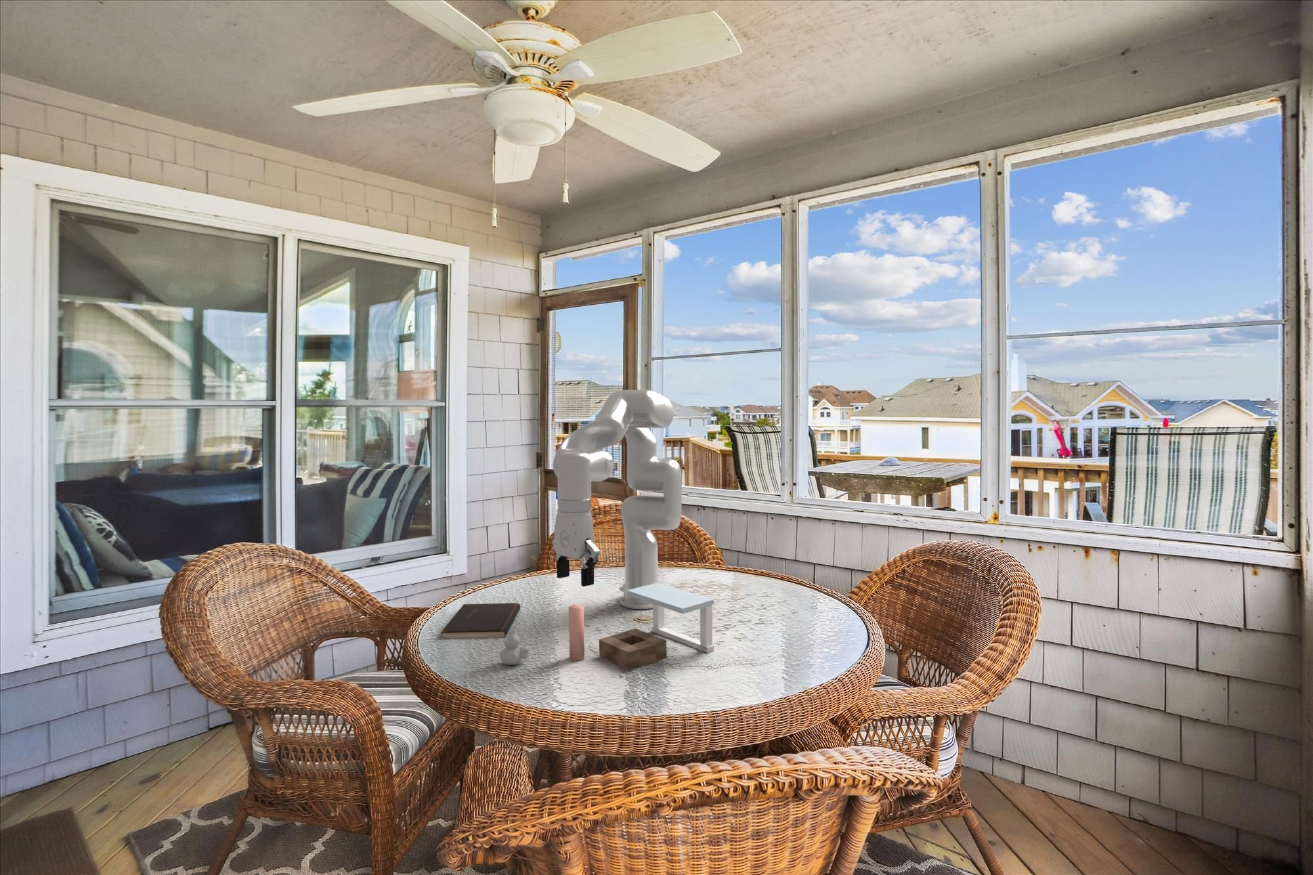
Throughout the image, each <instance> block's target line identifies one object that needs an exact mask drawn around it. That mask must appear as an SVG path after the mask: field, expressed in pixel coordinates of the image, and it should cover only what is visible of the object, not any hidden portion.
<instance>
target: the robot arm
mask: <svg viewBox="0 0 1313 875" xmlns="http://www.w3.org/2000/svg"><path fill="white" fill-rule="evenodd" d="M673 407H674V406H673V404H672V403H671V401H670V400H669V398H668V397H666V396H664V395H662V394H660V393H658V392H656V391H654V390H650V389H621V390H616V391H614V392H612V393H610V395H609V396H608V397H607V399H606V401H605V402H604V403H603V405H602V408H601V409H600V410H599V412H598V414H597V416H596V418H595V419H594V420H592V421H591V422H588V423H587V424H584V425H583V426H580V427H578V428H577V429H576V430H574V431H572V432H571V433H570V434H568V435H567V436H566V437H565V438H564V439H563V440H562V442H561V444H560V445H559V447H558V448H557V451H556V452H555V455H554V457H553V461H552V470H553V473H554V475H555V476H556V477H557V511H556V516H555V522H554V533H553V537H554V538H552V539H551V540H552V541H551V543H552V547H553V552H554V555H555V558H554V559H555V561H556V578H557V579H564V578H569V577H570V570H571V568H570V565H571V564H570V559H572V560H578V559H579V562H580V565H581V566H582V568H580V586H581V587H583V588H584V587H588V586H589V587H590V586H594V584H595V568H596V567H597V562H598V561H599V559H598V558H599V556H600V553H601V552H600V549H599V548H598V547H597V545H596V544H595V535H594V534H595V532H594V523H593V515H592V482H604V481H605V480H607V479H609V477H611V475H612V473H613V471H614V467H615V466H614V464H615V463H614V459H613V456H612V455H611V454H610V453H609V452H608V451H606V450H604V449H606V448H608V447H611V446H615V445H617V444H618V443H620V442H621V441H622V440H623V438H624V437H625V439H626V441H625V442H626V445H627V446H626V448H627V449H626V451H627V452H626V455H627V456H626V457H627V459H626V463H627V464H626V481H627V484H628V485H627V486H628V487H629V488H630V489H632V490H634V491H641V492H661V493H662V494H663V496H658V495H639V494H638V495H631V496H629V497H627V498H624V500H623V501H622V504H621V507H620V508H621V509H620V512H621V513H620V514H621V521H622V526H623V533H624V579H625V580H624V581H625V582H624V583H623V585H622V586H619V592H621V593H622V592H623V596H622V597H620V599H619V603H620V605H621V606H622V607H624V608H627V609H632V610H648V609H649V610H651V609H653V604H652V603H649V602H646V601H643V600H640V599H637V598H634V597H631V596H628V595H627V590H630V589H634V588H638V587H642V586H647V585H651V584H655V583H659V577H658V576H659V574H658V573H659V572H658V571H659V570H658V566H659V564H658V558H659V557H658V555H659V554H658V541H657V538H656V537H655V535H654V532H652V530H659V531H660V530H663V531H673V530H676V529H678V528H679V526H680V525H681V522H682V509H683V508H682V504H683V503H682V502H683V501H682V494H683V488H682V487H683V485H682V484H683V480H682V476H683V475H682V468H681V466H680V464H679V463H678V461H677V460H675V459H673V458H672V459H671V458H658V457H657V440H656V437H655V436H654V434H653V432H652V431H651V430H650V429H665V428H667V427H670V425H671V424H672V422H673V418H674V408H673ZM602 449H603V450H602ZM586 559H587V561H586Z"/></svg>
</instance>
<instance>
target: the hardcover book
mask: <svg viewBox="0 0 1313 875" xmlns="http://www.w3.org/2000/svg"><path fill="white" fill-rule="evenodd" d="M520 610H521V604H520V603H519V602H503V603H499V602H498V603H497V602H496V603H493V602H492V603H463V604H462V606H461V607H460V608H459V610H457V611H456V613H455V614H454V615H453V617H452V618H451V619H450V620H449V622H448V623H447V624H446V625H445V626H444V628H442V630H441V631H440V634H442V639H460V638H461V639H462V638H463V639H465V638H466V639H467V638H469V639H470V638H474V639H475V638H507V636H508V633H509V632H510V629H511V628H512V625H513V623H514V621H515V619H516V618H517V615H518V614H519V612H520Z"/></svg>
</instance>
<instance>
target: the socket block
mask: <svg viewBox="0 0 1313 875" xmlns="http://www.w3.org/2000/svg"><path fill="white" fill-rule="evenodd" d="M598 643H599V644H598V648H599V649H598V651H599V652H598V654H599V655H598V657H600V658H602V659H604V660H605V661H608V662H610V663H612V664H615V665H616V666H619V667H620V668H622V669H625V670H627V671H632V670H635V669H638V668H641V667H644V666H647V665H650V664H652V663H654V662H655V663H656V662H658V661H660V660H664V659H666V658H668V657H667V640H666V639H664V638H661V637H659V636H656V635H654V634H651V633H649V632H647V631H643V630H640V629H638V628H633V629H632V628H631V629H629V630H626V631H623V632H619V633H616V634H613V635H608V636H606V637H603V638H599V639H598Z"/></svg>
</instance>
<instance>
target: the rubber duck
mask: <svg viewBox="0 0 1313 875" xmlns="http://www.w3.org/2000/svg"><path fill="white" fill-rule="evenodd" d="M505 638H506V639H505V640H504V641H503V644H504V648H503V649H501V651H500V653H499V657H500V660H501V661H502V663H503V664H505V665H509V666H513V665H514V666H515V665H517V664H519V663H520V662H521V661H522V660H527V659H528V658H530V657H529V652H530V647H529V646H526V645H524V646H521V645H520V644H521V639H520V638H519V635H517V633H516V632H515V631H512V629H511V628H510V629H509V634H507V635H506V637H505Z"/></svg>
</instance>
